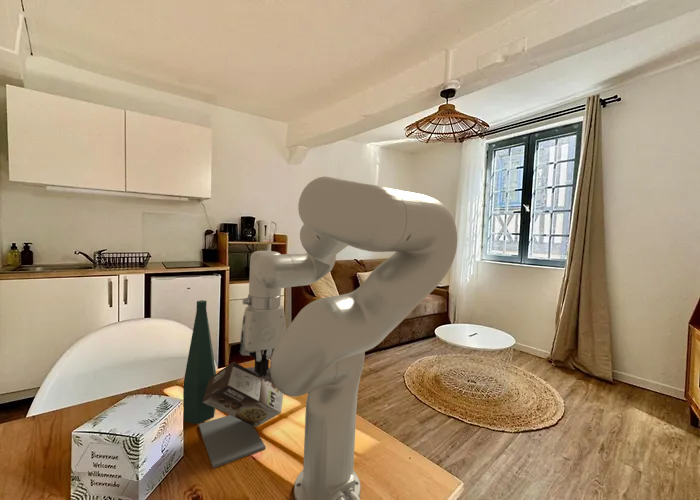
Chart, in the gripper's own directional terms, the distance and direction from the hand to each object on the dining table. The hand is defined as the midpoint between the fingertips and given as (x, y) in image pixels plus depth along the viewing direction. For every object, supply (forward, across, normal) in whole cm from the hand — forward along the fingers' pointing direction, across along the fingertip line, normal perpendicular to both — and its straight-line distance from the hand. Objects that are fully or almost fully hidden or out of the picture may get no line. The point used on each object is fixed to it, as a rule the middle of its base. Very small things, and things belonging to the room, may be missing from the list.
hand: (261, 373), depth 78 cm
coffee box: (+9, +2, -1) cm, 10 cm away
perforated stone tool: (+14, +4, +18) cm, 23 cm away
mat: (+13, -7, -2) cm, 15 cm away
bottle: (+14, -12, +12) cm, 22 cm away
